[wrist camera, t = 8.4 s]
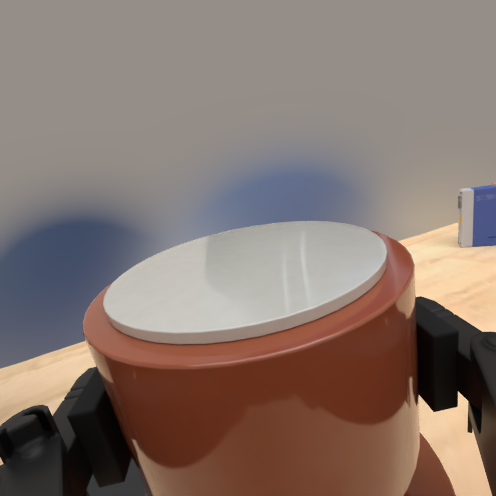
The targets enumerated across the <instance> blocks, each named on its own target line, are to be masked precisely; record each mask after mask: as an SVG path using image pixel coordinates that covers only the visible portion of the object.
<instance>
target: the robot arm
mask: <svg viewBox="0 0 496 496" xmlns="http://www.w3.org/2000/svg"><path fill="white" fill-rule="evenodd" d="M416 327H417V360H418V393H419V395H420V396H421V397H422V398H423V400H424V401H425V402H426V403H427V404H428V406H429V407H430V408H431V409H432V410H433V411H434V412H436V411H440V410H445V409H449V408H454V407H457V404H458V391H459V392H460V393H461V394H462V395H463V396H464V397H465V398H466V399H467V400H468V401H469V402H468V432H470V433H472V428H473V430H474V434H475V437H476V441H477V444H478V448H479V451H480V455H481V458H482V461H483V465H484V468H485V472H486V475H487V479H488V482H489V486H490V489H491V492H492V496H496V332H482V331H480V330H479V329H477V328H476V327H474V326H472V325H471V324H469V323H468V322H466V321H465V320H463V319H462V318H460V317H458V316H457V315H454V314H453V313H452V312H451V311H449V310H448V309H445V307H443V306H441V305H440V304H438V303H437V302H435V301H433V300H430V299H427V298H424V297H416ZM70 390H71V391H70V392H68V394H67V395H66V397H65V398H64V399H65V400H64V401H62V403H61V404H60V406H59V407H58V409H57V410H56V412H55V413H54V415H53V416H52V415H51V412H50V410H49V408H48V406H44V405H38V406H33V407H30V408H28V409H25V410H23V411H21V412H19V413H17V414H16V415H14V416H12V417H11V418H10V419H8V420H7V421H6V422H5V423H3V424H2V425H1V426H0V457H1V459H2V461H3V463H4V464H3V465H1V466H0V496H90V495H89V493H88V491H87V487H88V484H89V482H90V479H91V477H92V475H94V477H95V479H96V482H97V484H98V486H99V488H100V487H105V486H109V485H114V484H118V483H122V482H125V478H126V475H127V472H128V468H129V465H130V462H131V459H132V456H131V454H130V451H129V449H128V446H127V443H126V441H125V438H124V436H123V433H122V431H121V428H120V426H119V423H118V421H117V418H116V416H115V413H114V410H113V408H112V405H111V403H110V400H109V398H108V395H107V393H106V390H105V388H104V385H103V383H102V380H101V378H100V375H99V372H98V370H97V367H94V368H89V369H88V370H87V371H86V372H85V373H83V374H82V375H81V376H80V377H79V378H78V379H77V380H76V382H75V383H74V385H73V386H72V388H71V389H70Z"/></svg>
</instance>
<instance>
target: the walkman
mask: <svg viewBox="0 0 496 496" xmlns="http://www.w3.org/2000/svg"><path fill="white" fill-rule="evenodd" d="M458 208H459V233H458V243H459V246H460V247H472V246H487V245H496V183H493V184H492V185H489V186H481V187H474V188H465V189H459V196H458Z"/></svg>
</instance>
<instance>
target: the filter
mask: <svg viewBox="0 0 496 496" xmlns="http://www.w3.org/2000/svg"><path fill="white" fill-rule="evenodd" d="M83 334H84V337H85V339H86V342H87V345H88V347H89V350H90V352H91V355H92V357H93V360H94V362H95V365H96V367H97V370H98V372H99V375H100V378H101V380H102V383H103V385H104V388H105V390H106V393H107V395H108V398H109V400H110V403H111V405H112V408H113V410H114V413H115V416H116V418H117V421H118V423H119V426H120V428H121V431H122V433H123V436H124V438H125V441H126V443H127V446H128V449H129V451H130V454H131V456H132V459H133V461H134V464H135V466H136V469H137V471H138V474H139V476H140V479H141V481H142V484H143V487H144V489H145V492H146V495H145V496H456V495H455V492H454V489H453V487H452V484H451V481H450V479H449V477H448V476H447V474H446V472H445V470H444V468H443V466H442V464H441V462H440V460H439V458H438V457H437V455H436V454H435V452H434V451H433V449H432V448H431V446H430V445H429V443H428V442H427V440H426V439H425V438H424V437H423V436H422V434H421V433H420V425H419V393H418V360H417V327H416V295H415V265H414V262H413V259H412V256H411V254H410V253H409V252H408V250H407V249H406V248H405V247H404V246H403V245H402V244H400V243H399V242H398V241H396V240H394V239H392V238H390V237H388V236H386V235H384V234H381V233H378V232H374V231H370V230H367V229H364V228H361V227H358V226H354V225H350V224H344V223H337V222H324V221H294V222H282V223H271V224H264V225H257V226H250V227H244V228H239V229H234V230H230V231H225V232H221V233H217V234H213V235H209V236H206V237H202V238H199V239H196V240H192V241H189V242H187V243H183V244H181V245H178V246H175V247H173V248H170V249H167V250H165V251H163V252H161V253H158V254H156V255H154V256H152V257H150V258H148V259H146V260H144V261H142V262H141V263H139V264H137V265H135V266H134V267H132V268H131V269H129V270H128V271H126V272H125V273H124V274H122V275H121V276H120V277H119V278H117V279H116V280H115V281H114V282H113V283H111V284H110V285H109V286H108V287H106V288H105V289H104V290H103V291H102V292H101V293H100V294H99V295H98V296H97V297H96V298H95V299H94V301H93V302H92V303H91V304H90V306H89V307H88V309H87V311H86V313H85V316H84V321H83Z"/></svg>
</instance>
